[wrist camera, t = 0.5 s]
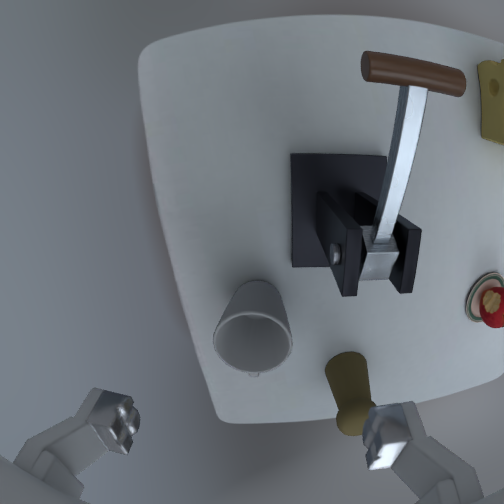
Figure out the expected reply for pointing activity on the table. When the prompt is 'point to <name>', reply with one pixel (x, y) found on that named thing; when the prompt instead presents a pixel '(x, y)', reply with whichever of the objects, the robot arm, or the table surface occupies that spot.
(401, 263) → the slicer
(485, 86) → the cheese
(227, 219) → the table surface
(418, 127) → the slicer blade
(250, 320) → the cup
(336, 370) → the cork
